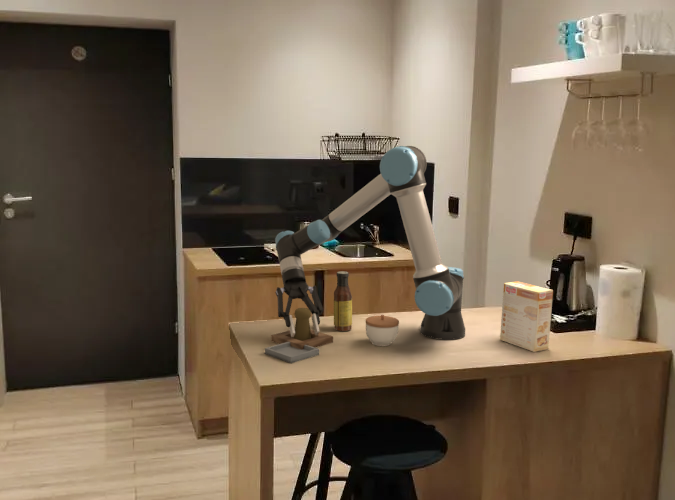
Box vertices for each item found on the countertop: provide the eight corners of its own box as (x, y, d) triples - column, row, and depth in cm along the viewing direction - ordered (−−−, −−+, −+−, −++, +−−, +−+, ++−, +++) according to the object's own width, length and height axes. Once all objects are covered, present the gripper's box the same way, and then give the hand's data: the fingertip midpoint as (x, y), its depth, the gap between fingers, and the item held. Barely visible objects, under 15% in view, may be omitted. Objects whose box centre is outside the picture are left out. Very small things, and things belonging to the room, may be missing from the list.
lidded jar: (357, 342, 227) (358, 314, 225) (379, 336, 235) (380, 308, 233) (383, 350, 220) (384, 321, 218) (404, 343, 228) (406, 315, 226)
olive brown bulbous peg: (309, 345, 223) (309, 311, 221) (290, 343, 224) (291, 310, 222) (313, 339, 229) (314, 306, 227) (295, 338, 230) (296, 305, 228)
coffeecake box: (549, 349, 226) (554, 289, 223) (533, 352, 222) (538, 292, 219) (514, 337, 239) (518, 280, 235) (499, 339, 235) (503, 282, 231)
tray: (319, 354, 214) (319, 349, 214) (291, 363, 206) (291, 357, 205) (292, 345, 222) (292, 340, 222) (264, 353, 214) (264, 348, 213)
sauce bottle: (355, 329, 242) (357, 272, 239) (345, 333, 237) (347, 275, 234) (339, 325, 246) (340, 269, 242) (329, 329, 241) (330, 272, 237)
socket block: (333, 342, 227) (333, 336, 227) (301, 351, 217) (301, 345, 216) (302, 332, 236) (302, 327, 236) (271, 341, 226) (271, 335, 226)
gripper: (319, 278, 241) (332, 337, 229) (261, 280, 235) (272, 342, 222) (324, 266, 235) (338, 326, 223) (265, 268, 229) (276, 330, 216)
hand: (305, 334), depth 223 cm, fingers open, 7 cm apart
